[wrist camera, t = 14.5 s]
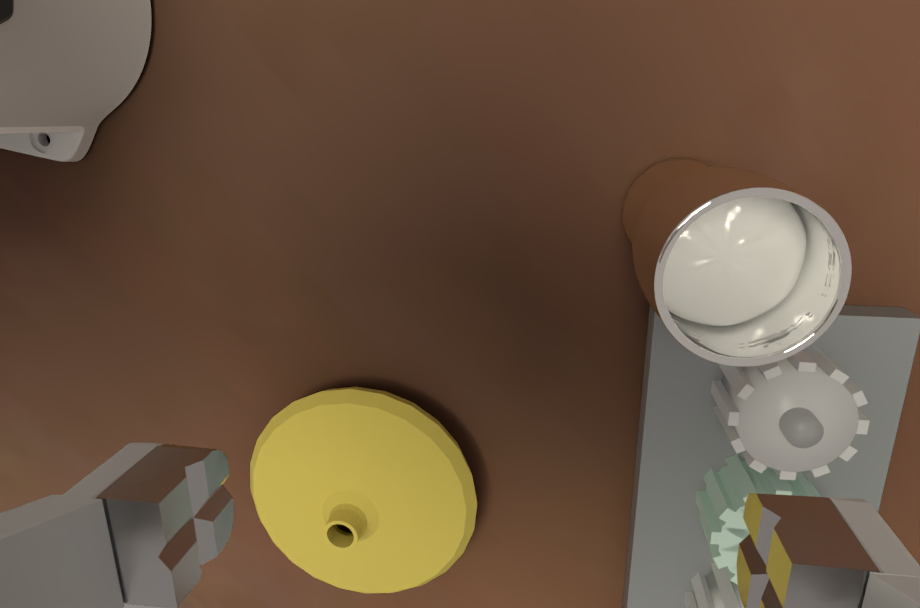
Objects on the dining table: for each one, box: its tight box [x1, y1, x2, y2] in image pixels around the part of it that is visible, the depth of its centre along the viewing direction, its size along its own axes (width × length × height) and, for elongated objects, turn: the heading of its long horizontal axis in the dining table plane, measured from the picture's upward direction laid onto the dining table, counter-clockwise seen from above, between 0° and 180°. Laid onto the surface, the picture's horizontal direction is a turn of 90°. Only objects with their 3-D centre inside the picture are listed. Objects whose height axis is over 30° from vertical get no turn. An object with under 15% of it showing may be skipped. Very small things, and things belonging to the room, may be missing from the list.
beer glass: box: [622, 159, 852, 367], centre depth 29 cm, size 7×7×15 cm
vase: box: [250, 387, 477, 593], centre depth 41 cm, size 16×16×7 cm
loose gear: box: [696, 454, 821, 585], centre depth 37 cm, size 7×7×4 cm
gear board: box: [622, 305, 920, 608], centre depth 36 cm, size 25×14×9 cm, turn 0°
